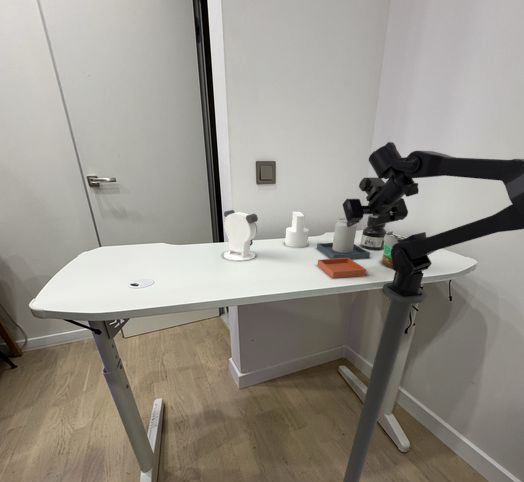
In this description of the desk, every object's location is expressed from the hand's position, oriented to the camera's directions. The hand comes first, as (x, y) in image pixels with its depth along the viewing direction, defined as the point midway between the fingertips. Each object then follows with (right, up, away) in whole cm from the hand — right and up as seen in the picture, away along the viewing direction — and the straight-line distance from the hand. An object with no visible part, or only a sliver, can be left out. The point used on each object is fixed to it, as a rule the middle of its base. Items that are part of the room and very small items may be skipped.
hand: (360, 225), depth 90 cm
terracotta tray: (-6, -14, +3) cm, 15 cm away
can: (-1, -5, +18) cm, 19 cm away
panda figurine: (-39, -7, +13) cm, 42 cm away
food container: (+13, -12, +8) cm, 19 cm away
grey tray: (-1, -5, +19) cm, 19 cm away
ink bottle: (+13, -2, +27) cm, 30 cm away
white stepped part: (-17, 0, +28) cm, 32 cm away
